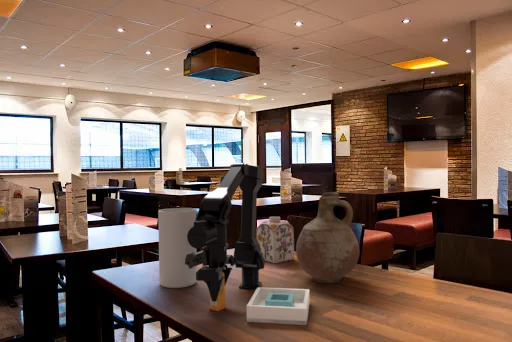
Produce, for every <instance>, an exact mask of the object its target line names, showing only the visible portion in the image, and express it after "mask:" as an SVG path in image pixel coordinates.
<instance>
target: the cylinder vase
mask: <svg viewBox="0 0 512 342" xmlns="http://www.w3.org/2000/svg"><path fill="white" fill-rule="evenodd" d="M157 215H158V217H157V218H158V256H159V257H158V263H159V264H158V266H159V267H158V268H159V271H158V272H159V273H158V275H159V277H158V278H159V284H160V286H161V287H163V288H167V289H181V288H187V287H190V286H193V285H195V284H196V283H197V282H198V281H197V280H196V272H197V271H198V268H197V267H198V265H197V266H194V267H193V268H191V269H189V267H188V265H186V264H185V258H186V255H187V254H190V253H192V252H193V253H197V252H198V251H197V250H198V249H196V248H193V247H192V246H191V245H190V244H189V242H188V240H187V234H188V232H189V230H190V229H191V228H192V227H194V222H195V219H196V217H197V209H196V208H191V207H180V208H177V207H176V208H175V207H174V208H163V209H159V210H158V212H157Z"/></svg>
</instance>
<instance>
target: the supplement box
mask: <svg viewBox="0 0 512 342" xmlns="http://www.w3.org/2000/svg"><path fill="white" fill-rule="evenodd" d="M222 277H224V273H223V272H222ZM208 294H209V295H208V296H209V297H208V298H209V310H211V311H215V312H220V311H222V310H224V309H226V308H227V307H226V285H225V281H224V279H223V282H222V285H221V288H220V292H219V295H218V298H217V301H216V302H214V301H212V299H211V296H210V292H209V291H208Z"/></svg>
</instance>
